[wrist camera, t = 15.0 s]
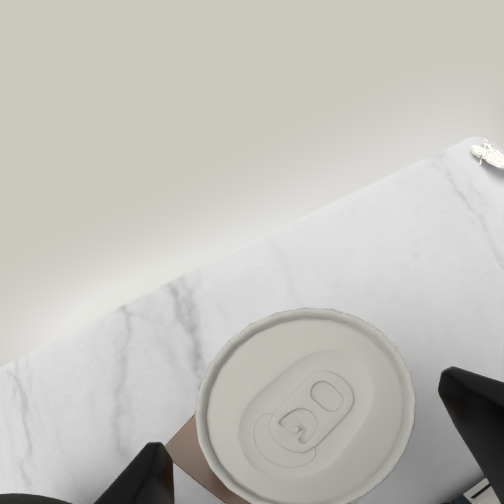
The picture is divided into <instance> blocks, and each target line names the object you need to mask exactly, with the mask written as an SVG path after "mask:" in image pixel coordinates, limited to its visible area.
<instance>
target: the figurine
mask: <svg viewBox="0 0 504 504" xmlns="http://www.w3.org/2000/svg"><path fill="white" fill-rule="evenodd" d="M484 141H485V142H484ZM487 142H489V141H488V139H484V140H483V141H482V143H483V145H485V146H484V148H482V147H480V146H478V145H474V144H473V145H472V149H471V150H472V153H473V154H474V155H475V156H477V157H479V158H480V156H481V160H480V165H481V162H482V159H484V160H485V161H486V162H488V163H489V164H491V165H493V166H495V167H497V168H504V154H502V153H501V152H500V153H499V151H497V150H495V149H492V147H491V145H490V144H488V143H487ZM486 146H487V147H488V149H485V148H486Z"/></svg>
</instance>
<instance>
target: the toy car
mask: <svg viewBox="0 0 504 504" xmlns="http://www.w3.org/2000/svg"><path fill="white" fill-rule="evenodd" d="M444 504H450V503H444ZM452 504H501V503H500V501H499V500H498V498H497V496H496V494H495V492H494V490H493V489H492V487H491V485H490V483H489V482H488V480H487V478H484V479H483V480H482V481H480V482H479V483H478V484H476V485H475V486H474V487H472V488H471V489H470V490H468V491H467V492H465V493H464V494H462V495H461V496H460V497H458V498H457V499H455V500H454V501H452Z"/></svg>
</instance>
